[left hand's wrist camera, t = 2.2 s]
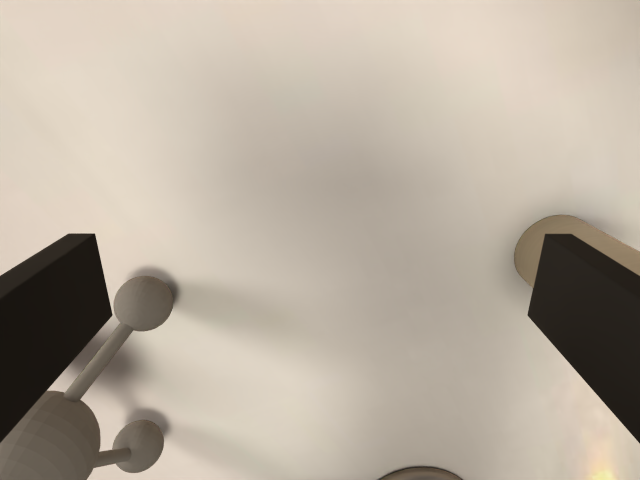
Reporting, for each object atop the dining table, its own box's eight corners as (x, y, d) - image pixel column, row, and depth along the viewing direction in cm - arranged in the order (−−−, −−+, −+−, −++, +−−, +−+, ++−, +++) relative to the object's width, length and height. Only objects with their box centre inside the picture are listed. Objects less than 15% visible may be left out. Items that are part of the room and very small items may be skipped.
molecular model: (261, 335, 46) (170, 734, 18) (156, 447, 52) (-33, 873, 24) (70, 205, 40) (-488, 490, 12) (-22, 348, 47) (-533, 752, 19)
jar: (609, 235, 42) (805, 340, 25) (559, 297, 44) (706, 431, 28) (545, 201, 40) (707, 289, 24) (498, 267, 43) (613, 389, 26)
